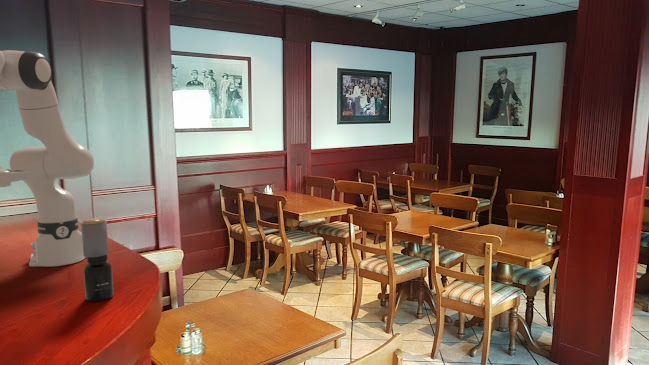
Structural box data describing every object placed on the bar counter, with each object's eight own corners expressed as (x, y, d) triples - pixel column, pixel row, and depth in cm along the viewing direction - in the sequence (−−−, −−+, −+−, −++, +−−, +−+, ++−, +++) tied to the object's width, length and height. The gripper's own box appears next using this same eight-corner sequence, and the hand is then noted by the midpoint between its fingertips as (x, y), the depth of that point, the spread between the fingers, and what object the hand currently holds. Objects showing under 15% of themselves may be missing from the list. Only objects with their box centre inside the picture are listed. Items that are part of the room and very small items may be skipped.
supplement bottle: (103, 303, 125) (99, 258, 124) (80, 301, 127) (76, 257, 125) (119, 293, 132) (116, 251, 130) (97, 292, 133) (93, 250, 132)
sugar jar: (81, 253, 128) (78, 219, 127) (105, 249, 132) (102, 216, 131) (87, 258, 123) (84, 223, 122) (111, 254, 127) (109, 220, 126)
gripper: (-41, 168, 104) (33, 163, 113) (-46, 162, 120) (19, 159, 128) (-38, 197, 105) (36, 190, 113) (-43, 188, 120) (22, 182, 129)
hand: (27, 173), depth 121 cm, fingers open, 8 cm apart
